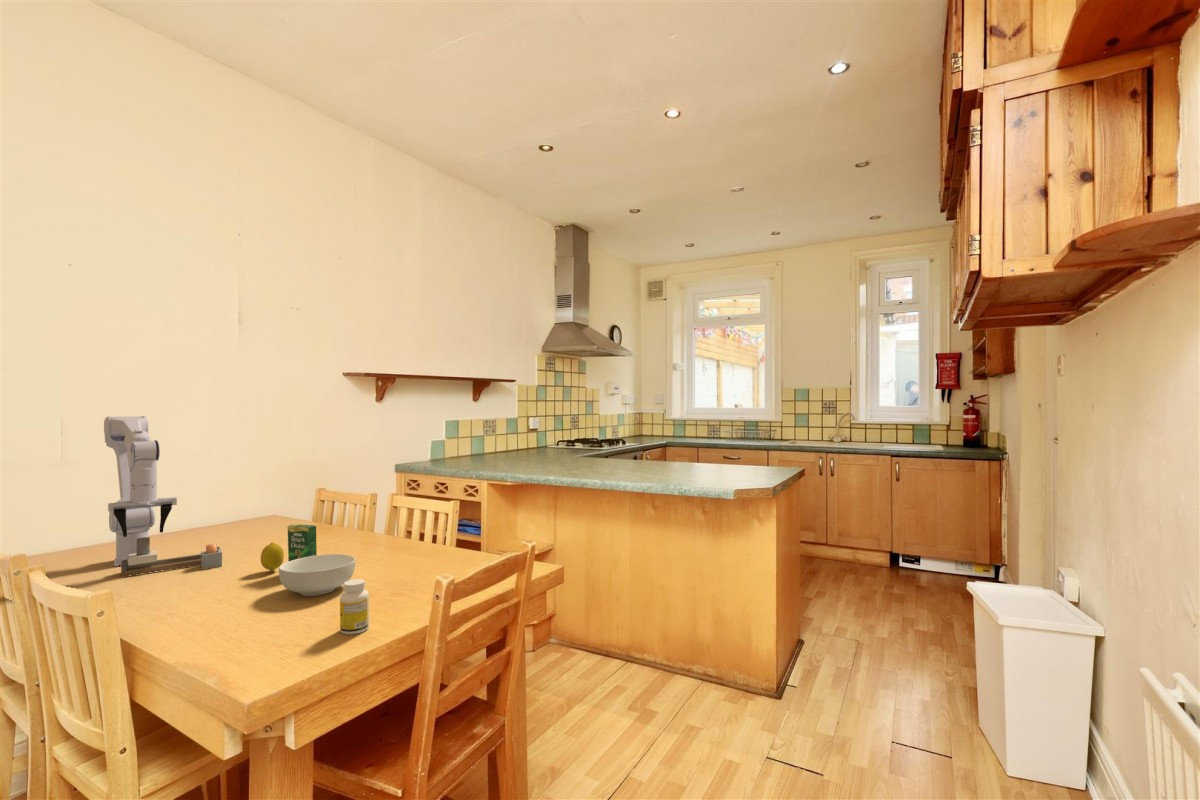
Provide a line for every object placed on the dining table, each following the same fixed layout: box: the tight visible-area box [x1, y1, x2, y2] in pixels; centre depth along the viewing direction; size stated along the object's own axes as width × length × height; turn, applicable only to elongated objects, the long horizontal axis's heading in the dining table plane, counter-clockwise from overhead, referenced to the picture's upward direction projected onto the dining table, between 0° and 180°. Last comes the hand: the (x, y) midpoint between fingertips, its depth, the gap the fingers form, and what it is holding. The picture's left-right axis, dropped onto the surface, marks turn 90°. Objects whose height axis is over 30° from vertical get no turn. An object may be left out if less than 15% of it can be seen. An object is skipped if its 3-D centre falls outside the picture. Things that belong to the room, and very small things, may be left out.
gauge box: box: [200, 548, 223, 570], centre depth 157 cm, size 5×5×4 cm
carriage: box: [129, 536, 158, 566], centre depth 152 cm, size 5×6×6 cm
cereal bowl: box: [278, 553, 356, 597], centre depth 136 cm, size 17×17×7 cm
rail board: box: [120, 546, 221, 578], centre depth 156 cm, size 6×22×4 cm, turn 129°
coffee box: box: [287, 523, 318, 562], centre depth 150 cm, size 8×3×13 cm, turn 68°
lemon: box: [260, 542, 285, 572], centre depth 152 cm, size 6×6×8 cm
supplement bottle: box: [339, 578, 370, 636], centre depth 112 cm, size 5×5×10 cm
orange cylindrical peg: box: [205, 543, 218, 554], centre depth 157 cm, size 2×2×4 cm
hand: (143, 534), depth 152 cm, fingers open, 7 cm apart
